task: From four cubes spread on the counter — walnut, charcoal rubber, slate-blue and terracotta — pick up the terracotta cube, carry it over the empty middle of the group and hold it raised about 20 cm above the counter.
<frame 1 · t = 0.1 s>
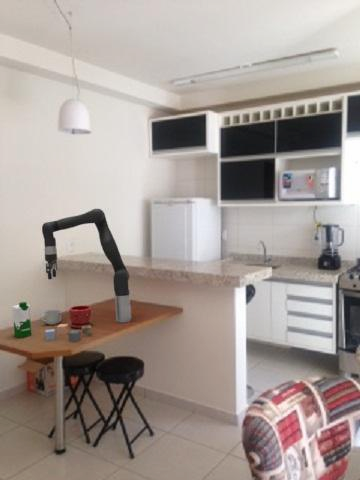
hand: (52, 278, 275), 29 cm above the table, tool pointing down, fingers open, 8 cm apart
terracotta cube: (63, 333, 253), on the table
charcoal cube: (75, 340, 240), on the table
teacup: (51, 324, 274), on the table
slate blue cube: (50, 339, 244), on the table
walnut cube: (87, 335, 249), on the table
milk carton: (23, 336, 251), on the table
plant pot: (81, 326, 267), on the table
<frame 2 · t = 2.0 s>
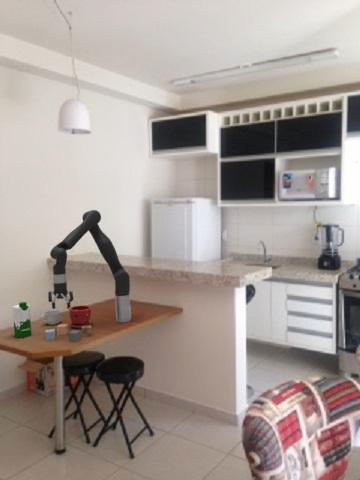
hand: (61, 308, 252), 15 cm above the table, tool pointing down, fingers open, 8 cm apart
nothing on the table moved.
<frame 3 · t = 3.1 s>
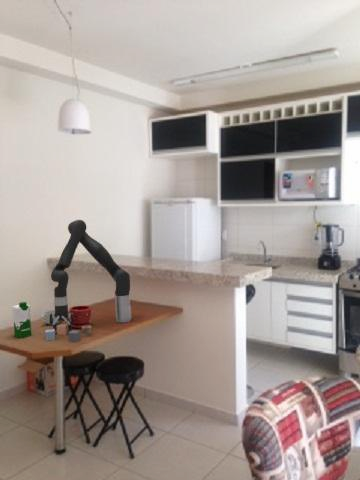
hand: (62, 330, 253), 2 cm above the table, tool pointing down, fingers open, 8 cm apart
nothing on the table moved.
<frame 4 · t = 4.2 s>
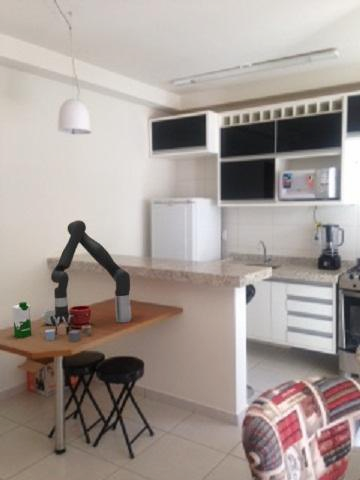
hand: (62, 332, 253), 0 cm above the table, tool pointing down, fingers closed on terracotta cube, 5 cm apart
terracotta cube: (63, 333, 253), on the table, touching gripper
everything else where it was.
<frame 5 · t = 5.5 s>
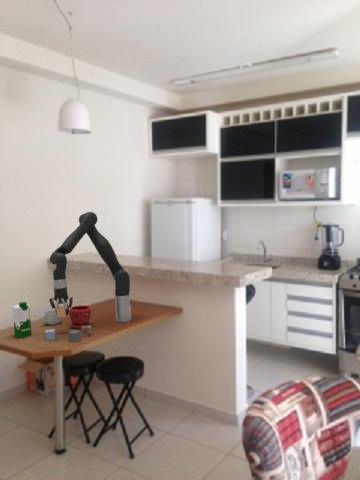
hand: (62, 314, 252), 11 cm above the table, tool pointing down, fingers closed on terracotta cube, 5 cm apart
terracotta cube: (62, 315, 252), point 11 cm above the table, touching gripper
everything else where it was.
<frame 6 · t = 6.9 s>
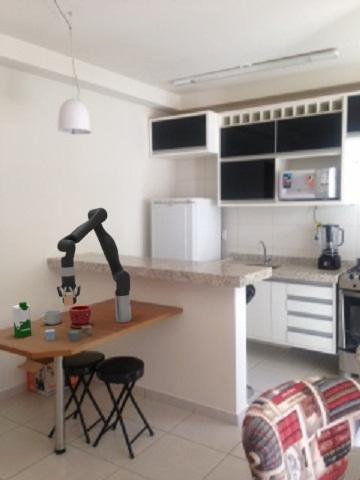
hand: (69, 303, 245), 19 cm above the table, tool pointing down, fingers closed on terracotta cube, 5 cm apart
terracotta cube: (69, 304, 245), point 19 cm above the table, touching gripper
everything else where it was.
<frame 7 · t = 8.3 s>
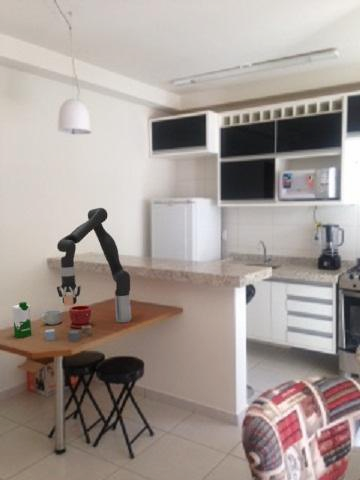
hand: (69, 303, 245), 19 cm above the table, tool pointing down, fingers closed on terracotta cube, 5 cm apart
terracotta cube: (69, 304, 245), point 19 cm above the table, touching gripper
everything else where it was.
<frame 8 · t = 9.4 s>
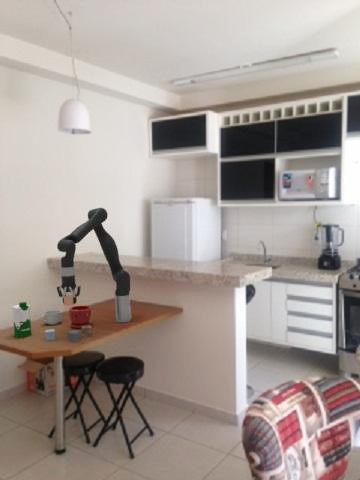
hand: (69, 303, 245), 19 cm above the table, tool pointing down, fingers closed on terracotta cube, 5 cm apart
terracotta cube: (69, 304, 245), point 19 cm above the table, touching gripper
everything else where it was.
at the end: the gripper is holding terracotta cube; terracotta cube point 18.8 cm above the table; slate blue cube moved 0.1 cm from its start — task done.
